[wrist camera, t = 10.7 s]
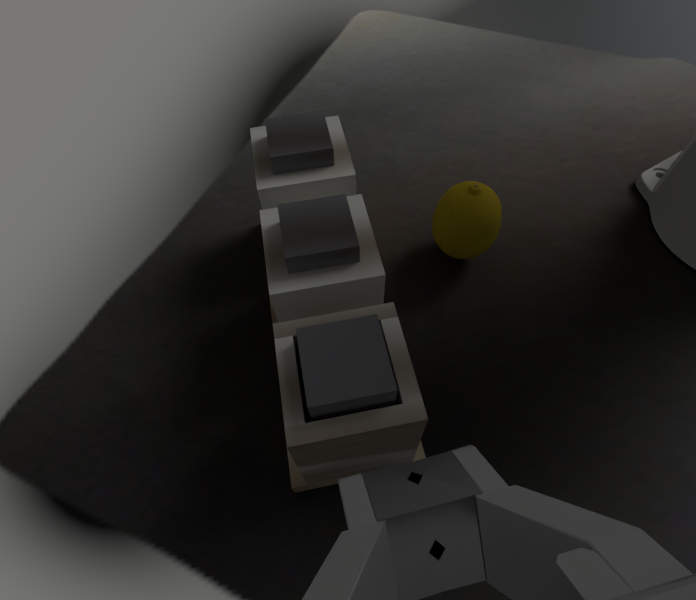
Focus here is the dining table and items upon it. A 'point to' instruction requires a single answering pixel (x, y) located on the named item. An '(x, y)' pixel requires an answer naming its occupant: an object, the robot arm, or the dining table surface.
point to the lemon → (467, 220)
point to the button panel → (327, 296)
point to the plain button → (345, 367)
